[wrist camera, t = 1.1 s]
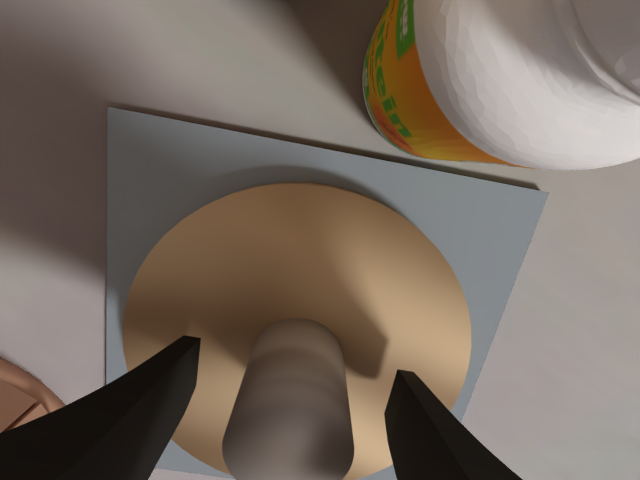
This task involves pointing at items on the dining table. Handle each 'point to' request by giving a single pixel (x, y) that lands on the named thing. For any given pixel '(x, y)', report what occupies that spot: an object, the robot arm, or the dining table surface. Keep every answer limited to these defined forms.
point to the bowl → (23, 397)
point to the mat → (303, 166)
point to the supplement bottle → (508, 81)
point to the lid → (298, 327)
